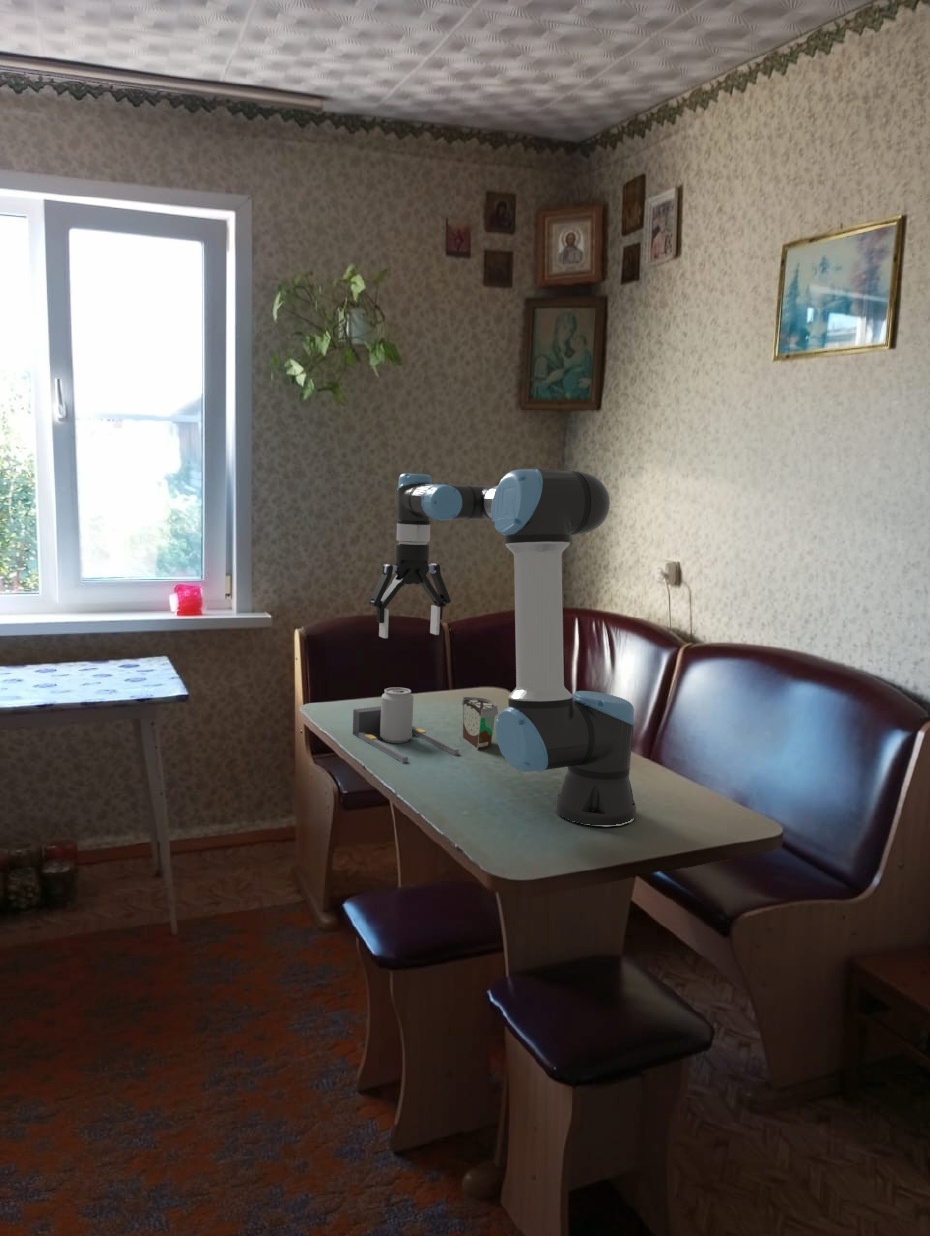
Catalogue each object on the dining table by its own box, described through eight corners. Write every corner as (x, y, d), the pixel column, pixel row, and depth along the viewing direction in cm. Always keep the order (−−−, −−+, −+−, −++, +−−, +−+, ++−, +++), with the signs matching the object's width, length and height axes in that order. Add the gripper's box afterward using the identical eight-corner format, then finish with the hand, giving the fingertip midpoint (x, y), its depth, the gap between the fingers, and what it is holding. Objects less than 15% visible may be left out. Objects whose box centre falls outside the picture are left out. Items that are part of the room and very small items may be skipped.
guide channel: (459, 754, 215) (460, 728, 215) (402, 762, 207) (403, 736, 206) (405, 727, 235) (406, 703, 234) (352, 733, 227) (353, 709, 226)
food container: (504, 750, 220) (507, 708, 219) (479, 752, 218) (482, 709, 217) (483, 735, 232) (486, 695, 230) (460, 736, 229) (462, 696, 228)
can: (414, 736, 228) (416, 687, 226) (409, 745, 220) (411, 694, 219) (383, 733, 229) (384, 684, 227) (376, 742, 221) (378, 692, 219)
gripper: (450, 541, 226) (446, 630, 229) (355, 541, 212) (353, 635, 215) (467, 544, 220) (463, 635, 223) (372, 544, 206) (369, 641, 209)
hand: (409, 635), depth 219 cm, fingers open, 13 cm apart
